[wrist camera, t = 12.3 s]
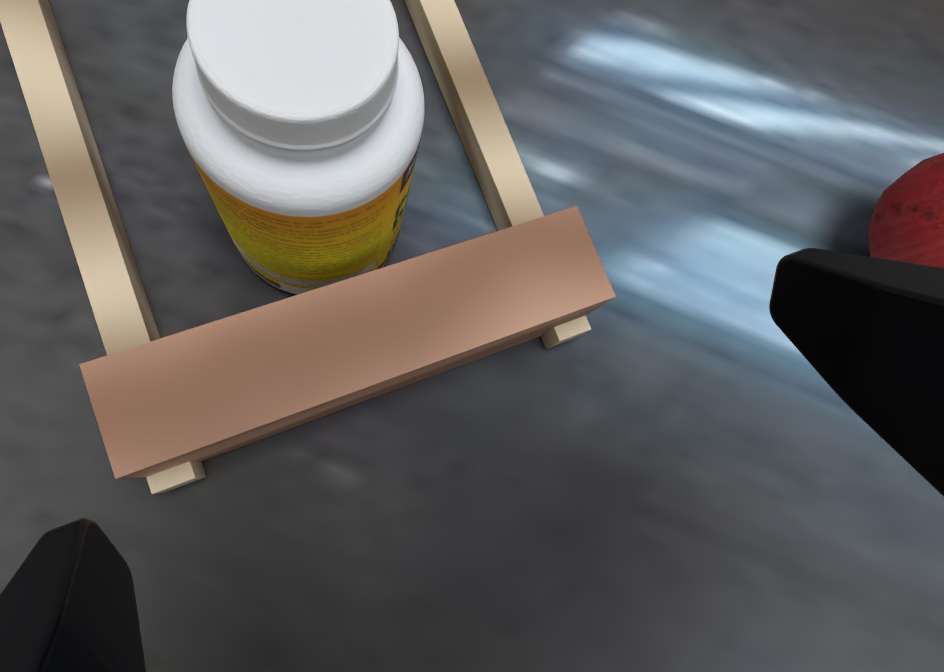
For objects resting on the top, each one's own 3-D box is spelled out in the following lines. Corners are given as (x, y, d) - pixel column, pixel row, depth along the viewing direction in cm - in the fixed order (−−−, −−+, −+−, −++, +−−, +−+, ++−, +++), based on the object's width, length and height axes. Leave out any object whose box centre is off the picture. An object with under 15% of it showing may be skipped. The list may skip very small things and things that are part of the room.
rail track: (575, 337, 23) (622, 312, 19) (166, 492, 19) (121, 498, 16) (399, -90, 25) (408, -191, 21) (1, -20, 22) (-75, -126, 18)
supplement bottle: (411, 289, 22) (464, 148, 12) (243, 312, 21) (152, 175, 11) (385, 140, 23) (414, -103, 13) (222, 154, 22) (121, -104, 12)
